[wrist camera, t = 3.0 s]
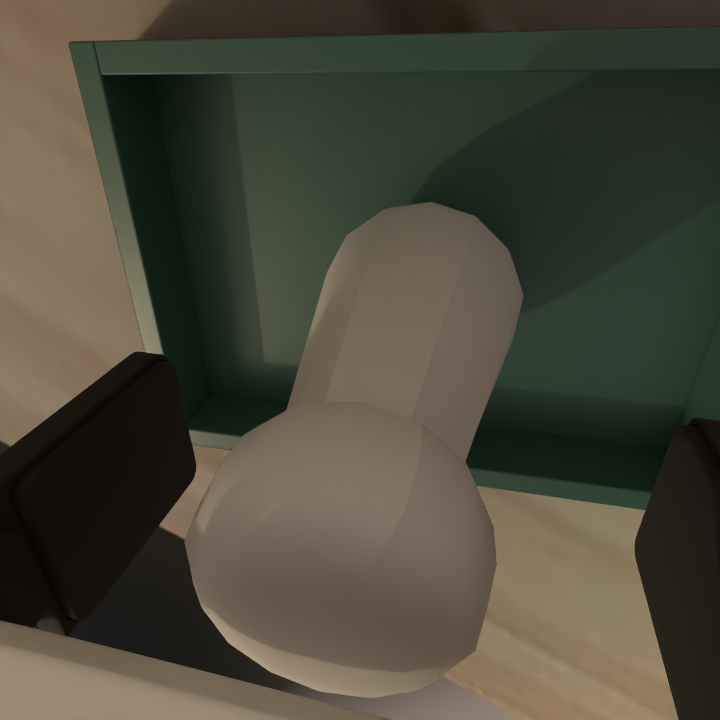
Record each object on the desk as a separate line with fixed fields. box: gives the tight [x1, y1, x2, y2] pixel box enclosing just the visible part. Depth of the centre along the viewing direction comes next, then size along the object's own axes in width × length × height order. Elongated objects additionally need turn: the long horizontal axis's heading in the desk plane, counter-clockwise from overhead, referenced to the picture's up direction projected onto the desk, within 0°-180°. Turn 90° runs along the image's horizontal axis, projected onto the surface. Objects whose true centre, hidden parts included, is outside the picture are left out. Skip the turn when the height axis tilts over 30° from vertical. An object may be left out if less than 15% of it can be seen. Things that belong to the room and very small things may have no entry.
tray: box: [69, 26, 720, 510], centre depth 17 cm, size 20×14×3 cm
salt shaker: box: [185, 202, 523, 698], centre depth 12 cm, size 6×6×13 cm
